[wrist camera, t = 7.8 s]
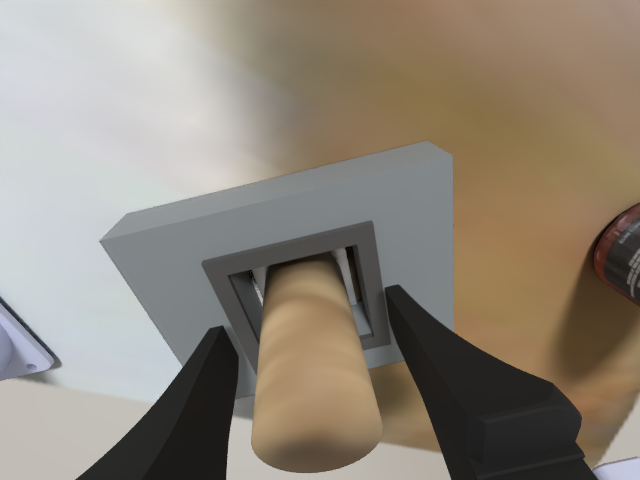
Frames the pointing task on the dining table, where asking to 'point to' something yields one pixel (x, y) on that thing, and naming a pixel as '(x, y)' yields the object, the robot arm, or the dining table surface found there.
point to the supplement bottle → (621, 255)
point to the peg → (311, 372)
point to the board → (295, 249)
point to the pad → (336, 254)
